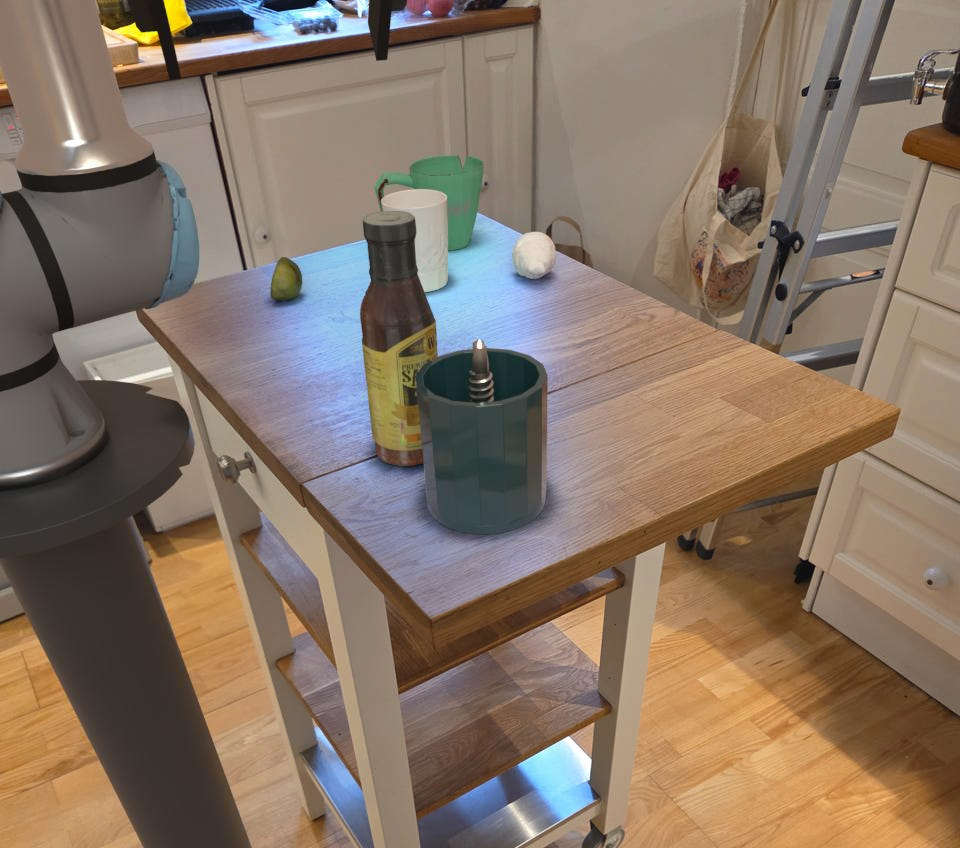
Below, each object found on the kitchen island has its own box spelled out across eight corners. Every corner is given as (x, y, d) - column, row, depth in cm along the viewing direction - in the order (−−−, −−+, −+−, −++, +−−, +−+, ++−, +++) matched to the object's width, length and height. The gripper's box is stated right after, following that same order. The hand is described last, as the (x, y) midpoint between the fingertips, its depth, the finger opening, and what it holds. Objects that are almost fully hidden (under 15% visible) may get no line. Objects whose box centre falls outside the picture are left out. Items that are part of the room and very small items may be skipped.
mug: (481, 230, 126) (478, 152, 119) (491, 252, 119) (488, 171, 112) (379, 239, 125) (370, 161, 118) (383, 262, 117) (374, 180, 111)
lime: (275, 309, 106) (266, 267, 103) (265, 296, 110) (257, 255, 106) (310, 302, 108) (303, 260, 104) (300, 290, 111) (293, 248, 108)
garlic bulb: (516, 292, 107) (515, 245, 104) (511, 274, 112) (510, 229, 108) (560, 289, 108) (561, 242, 104) (553, 272, 112) (554, 227, 108)
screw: (480, 471, 75) (526, 487, 73) (444, 496, 72) (491, 515, 70) (473, 320, 66) (525, 334, 64) (432, 343, 63) (485, 358, 61)
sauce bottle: (420, 476, 76) (396, 236, 63) (361, 461, 79) (326, 226, 65) (458, 442, 80) (443, 210, 67) (401, 428, 83) (375, 202, 70)
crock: (407, 491, 75) (393, 368, 67) (506, 458, 78) (503, 338, 71) (462, 548, 68) (454, 418, 61) (568, 510, 71) (572, 383, 64)
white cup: (451, 270, 114) (446, 187, 107) (453, 293, 108) (448, 205, 101) (390, 274, 114) (381, 191, 107) (389, 297, 108) (380, 210, 101)
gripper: (-52, -225, 35) (91, 123, 56) (544, -243, 39) (470, 86, 60) (-89, -402, 35) (68, 11, 56) (507, -400, 40) (446, -18, 60)
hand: (276, 50), depth 58 cm, fingers open, 13 cm apart
